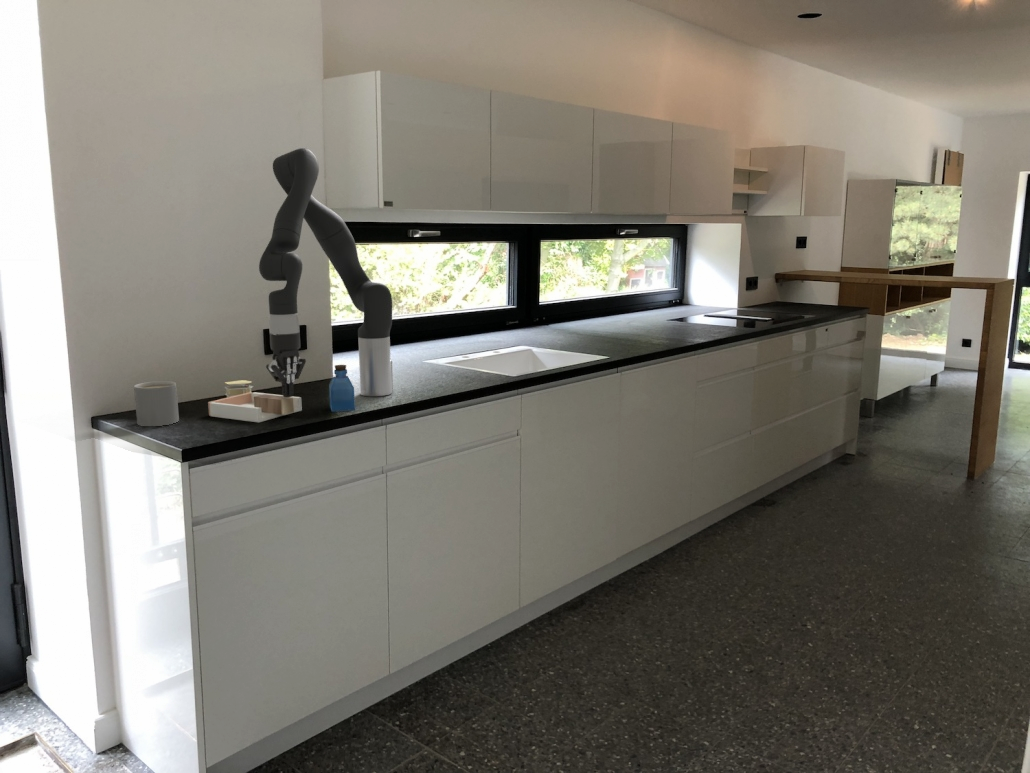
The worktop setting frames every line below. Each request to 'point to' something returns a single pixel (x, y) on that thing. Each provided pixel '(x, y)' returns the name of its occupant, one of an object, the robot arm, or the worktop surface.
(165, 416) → the coffee mug
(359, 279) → the robot arm
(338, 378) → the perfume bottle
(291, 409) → the walnut block
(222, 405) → the tray
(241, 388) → the glass food container
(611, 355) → the worktop surface
